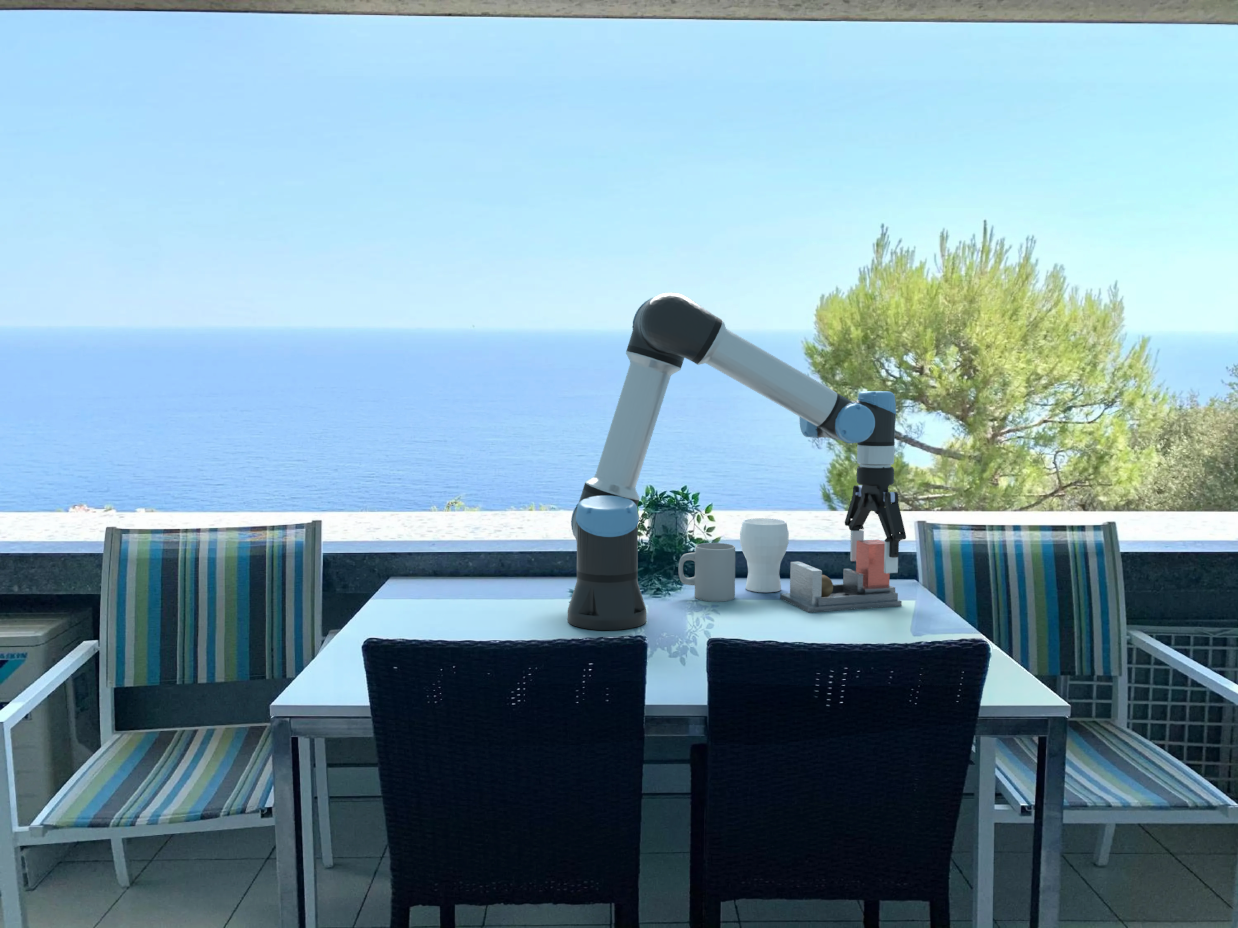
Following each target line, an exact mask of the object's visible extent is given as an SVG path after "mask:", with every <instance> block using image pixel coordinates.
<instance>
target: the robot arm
mask: <svg viewBox="0 0 1238 928" xmlns="http://www.w3.org/2000/svg"><path fill="white" fill-rule="evenodd" d="M631 328H632V331H631V335H630V338H629V342H628V344H627V348H626V351H625V354H626V356H627V358H628V360H629V366H628V370H627V373H626V376H625V379H624V382H623V385H622V388H621V392H620V394H619V395H620V396H619V398H618V402H617V405H616V408H615V411H614V414H613V417H612V421H611V424H610V427H609V430H608V433H607V436H606V439H605V443H604V445H603V449H602V453H601V456H600V459H599V462H598V465H597V468H596V471H595V474H594V475H593V476H592V477H590V478H589V479H586V480H585V482H584V484H583V489H582V492H581V495H580V497H579V501H578V503H577V504H576V505H575V508H574V509H573V512H572V515H571V519H570V527H571V530H572V534H573V537H574V538H575V540H576V582H575V586H574V589H573V593H572V595H571V599H570V602H569V604H568V608H567V623H568V624H570V625H571V626H574V627H578V628H581V629H587V630H599V631H618V630H627V629H634V628H637V627H640V626H643V625H644V624H645V623H646V622H647V607H646V605H645V601H644V597H643V595H642V591H641V589H640V585H639V581H638V569H639V568H638V560H639V559H638V558H639V557H638V552H639V551H638V542H639V541H638V540H639V539H638V538H639V537H638V533H639V532H638V528H639V527H638V525H639V521H640V516H639V513H638V506H639V505H638V504H639V503H640V502H639V501H640V499H641V498H640V495H639V494H638V492H637V490H636V489H637V488H636V487H637V483H638V480H639V478H640V474H641V471H642V467H643V465H644V461H645V458H646V455H647V452H648V449H649V446H650V442H651V439H652V436H653V434H654V430H655V428H656V427H655V426H656V424H657V421H658V417H659V414H660V411H661V409H662V404H663V403H664V398H665V396H666V391H667V389H668V386H669V383H670V379H671V377H672V376H673V375H674V374H676V373H678V372H680V371H681V369H682V366H683V364H684V360H685V359H686V360H689V361H690V362H692V363H694V364H696V365H698V366H699V365H703V364H706V365H708V366H710V367H711V368H713V369H715V370H717V371H719V372H720V373H722V374H724V375H726V376H727V377H729V378H731V379H733V380H735V381H736V382H738V383H740V384H742V385H744V386H745V387H746V388H749V389H750V390H752V391H753V392H755V393H758V394H759V395H762V397H764V398H766V399H768V400H770V401H771V402H774V403H775V404H776V405H779V406H780V407H783V408H784V409H785V410H787V411H789V412H791V413H793V414H795V415H797V416H798V417H799V428H800V432H801V434H802V435H803V436H804V437H805V438H814V439H819V438H821V439H822V438H825V439H826V438H828V439H832V440H836V441H841V442H845V443H847V444H857V447H856V449H857V450H856V451H857V452H856V463H857V464H858V465H859V466H858V467H856V484H857V485H856V484H854V485H853V487H852V496H851V499H850V502H849V506H848V509H847V512H846V516H845V520H844V526H845V527H847V526H848V529H849V530H850V555H849V558H850V562H856V551H857V541H859V540H865V539H864V538H865V528H864V524H865V522H866V520H867V519H868V516H869V515H870V514H871V511H873V512H874V514H876V515H877V516H878V519H879V521H880V524H881V527H882V529H883V531H884V534H885V537H886V538H885V539H884V540H883V541H884V542H885V550H884V573H890V574H898V569H899V554H900V553H899V550H900V547H899V546H900V545H899V544H900V542H901V541H902V540H906V539H907V535H906V530H905V525H904V521H903V516H902V513H901V508H900V503H899V493H898V492H897V491H889V487H890V486H892V485H894V483H895V468H894V467H893V466H892V465H894V464H895V452H896V450H895V438H896V437H895V436H896V415H897V407H896V397H895V396H896V395H895V394H894V393H893V392H892V391H887V390H886V391H885V390H883V391H882V390H869V391H868V390H867V391H866V390H863V391H860V392H859V393H858V396H857V400H850V399H848V398H847V397H845V396H843V395H841V394H839V393H838V392H837V391H835V390H833V389H832V388H830V387H828V386H826V385H825V384H822V383H821V382H819V381H818V380H816V379H815V378H812V377H811V376H809V375H807V374H805V373H803V372H802V371H800V370H799V369H797V368H795V367H793V366H791V365H789V364H788V363H786V362H785V361H783V360H781V359H779V358H778V357H776V356H774V355H772V354H771V353H769V352H767V351H765V350H764V349H762V348H761V347H759V346H757V345H755V344H753V343H752V342H750V341H748V340H747V339H745V338H744V337H741V336H740V335H738V334H736V333H734V332H733V331H731V330H729V329H728V328H727V326H726V324H725V320H723V319H721V318H720V317H718V316H716V315H715V314H713V313H712V312H710V311H709V310H707V309H706V308H704V307H702V305H699V304H698V303H697V302H696V301H694V300H693V299H691V298H689V297H688V296H686V295H684V294H681V293H678V292H664V293H659V294H658V295H656V296H653V297H650V298H649V299H647V300H645V301H644V302H643V303H642V304H641V305H640V306H639V307H638V308H637V310H636V311H635V314H634V317H633V319H632V327H631Z"/></svg>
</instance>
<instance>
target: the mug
mask: <svg viewBox="0 0 1238 928" xmlns="http://www.w3.org/2000/svg"><path fill="white" fill-rule="evenodd" d="M694 549H695V550H694V552H688V553H684V554H682V555H681V556H680V559H679V561H678V568H677V569H678V577H679V580H680V582H681V583H682V584H684V585H687V586H694V597H695V599H697V600H700V601H705V602H711V603H712V602H715V603H716V602H719V603H720V602H728V601H733V600H734V599H735V597H736V546H735V545H734V544H729V543H723V542H722V543H721V542H705V543H704V542H702V543H699V544H696V545H695V547H694ZM686 561H691V562H692V561H693V562H694V576H692V577H686V576H685V574H684V563H686Z"/></svg>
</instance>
